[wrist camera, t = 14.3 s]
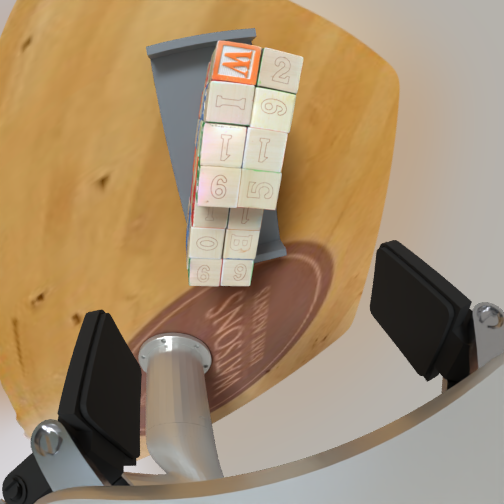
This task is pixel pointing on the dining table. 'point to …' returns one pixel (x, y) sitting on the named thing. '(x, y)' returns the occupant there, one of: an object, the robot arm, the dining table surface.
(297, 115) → the dining table surface
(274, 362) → the dining table surface
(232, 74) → the stack of blocks
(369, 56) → the dining table surface
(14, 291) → the dining table surface
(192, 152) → the board
